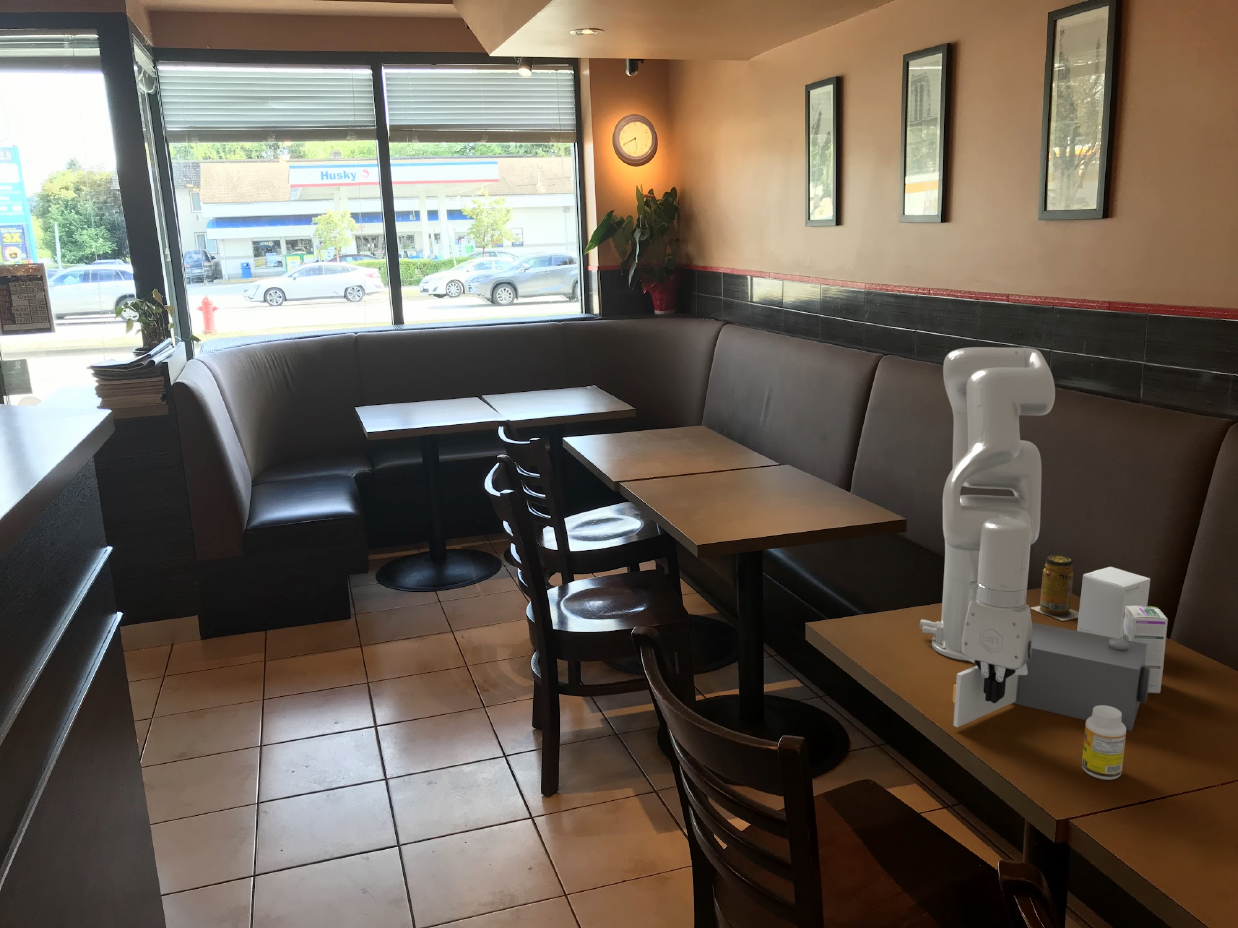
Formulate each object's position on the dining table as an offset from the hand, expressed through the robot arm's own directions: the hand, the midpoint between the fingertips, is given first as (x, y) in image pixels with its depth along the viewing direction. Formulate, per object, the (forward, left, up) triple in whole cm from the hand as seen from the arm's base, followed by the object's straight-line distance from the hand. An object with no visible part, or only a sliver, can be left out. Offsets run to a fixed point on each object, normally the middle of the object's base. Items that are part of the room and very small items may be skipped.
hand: (993, 699), depth 161 cm
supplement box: (+12, +47, -6) cm, 49 cm away
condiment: (0, +61, -6) cm, 61 cm away
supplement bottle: (+17, -4, -6) cm, 19 cm away
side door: (-2, +4, -5) cm, 7 cm away
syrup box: (+19, +31, -6) cm, 37 cm away
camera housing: (+10, +18, -6) cm, 21 cm away
